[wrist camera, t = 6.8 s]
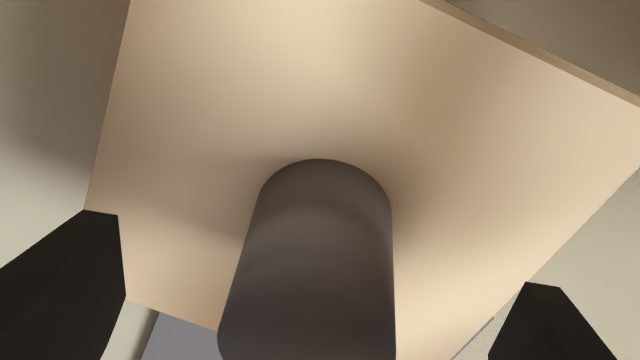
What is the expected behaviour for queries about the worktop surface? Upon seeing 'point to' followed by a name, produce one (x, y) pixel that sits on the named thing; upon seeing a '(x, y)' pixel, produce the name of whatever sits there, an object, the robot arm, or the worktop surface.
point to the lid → (346, 170)
